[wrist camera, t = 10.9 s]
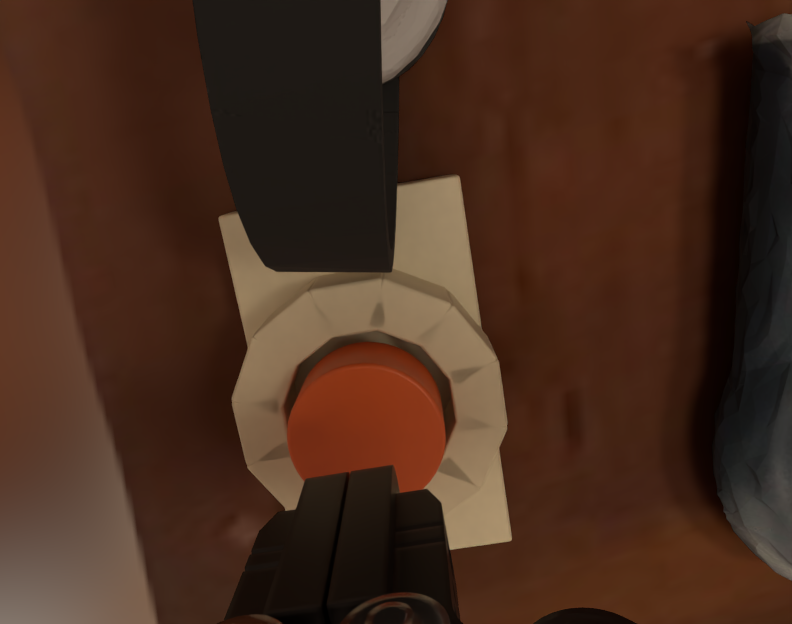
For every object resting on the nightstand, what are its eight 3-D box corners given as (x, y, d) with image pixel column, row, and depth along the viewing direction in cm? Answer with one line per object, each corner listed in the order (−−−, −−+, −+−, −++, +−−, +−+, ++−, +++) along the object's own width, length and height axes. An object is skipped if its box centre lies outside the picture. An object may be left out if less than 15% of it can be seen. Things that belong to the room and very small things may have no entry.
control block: (224, 213, 17) (187, 225, 14) (461, 172, 17) (473, 176, 14) (300, 548, 20) (281, 616, 17) (511, 517, 19) (530, 582, 16)
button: (285, 353, 15) (270, 377, 14) (429, 329, 15) (432, 351, 14) (313, 484, 16) (303, 522, 15) (451, 463, 16) (457, 500, 14)
